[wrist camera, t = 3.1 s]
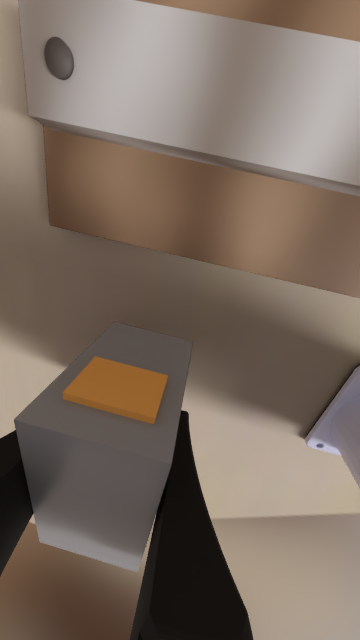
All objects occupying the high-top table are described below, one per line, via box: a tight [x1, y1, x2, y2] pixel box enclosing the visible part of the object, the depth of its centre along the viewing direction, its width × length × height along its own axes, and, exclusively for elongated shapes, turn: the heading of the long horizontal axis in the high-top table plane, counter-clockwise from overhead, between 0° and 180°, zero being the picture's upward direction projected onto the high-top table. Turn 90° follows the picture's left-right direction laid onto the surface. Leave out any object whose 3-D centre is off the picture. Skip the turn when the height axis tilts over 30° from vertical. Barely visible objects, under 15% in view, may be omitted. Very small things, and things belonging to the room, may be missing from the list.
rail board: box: [18, 0, 360, 298], centre depth 8 cm, size 18×12×3 cm, turn 78°
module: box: [14, 322, 193, 572], centre depth 10 cm, size 4×8×6 cm, turn 168°
